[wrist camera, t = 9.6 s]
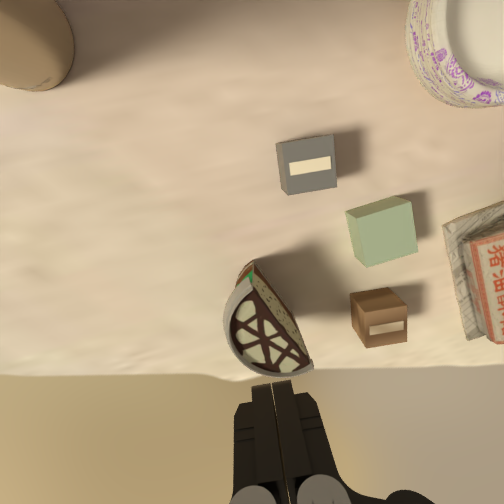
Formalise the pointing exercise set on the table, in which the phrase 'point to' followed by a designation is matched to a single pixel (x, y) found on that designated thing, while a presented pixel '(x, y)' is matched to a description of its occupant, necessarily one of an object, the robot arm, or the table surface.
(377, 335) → the walnut striped block
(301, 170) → the charcoal striped block
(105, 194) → the table surface
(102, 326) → the table surface
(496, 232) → the packaged product
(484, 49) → the paper bowls
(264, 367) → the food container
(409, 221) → the plain sage block
